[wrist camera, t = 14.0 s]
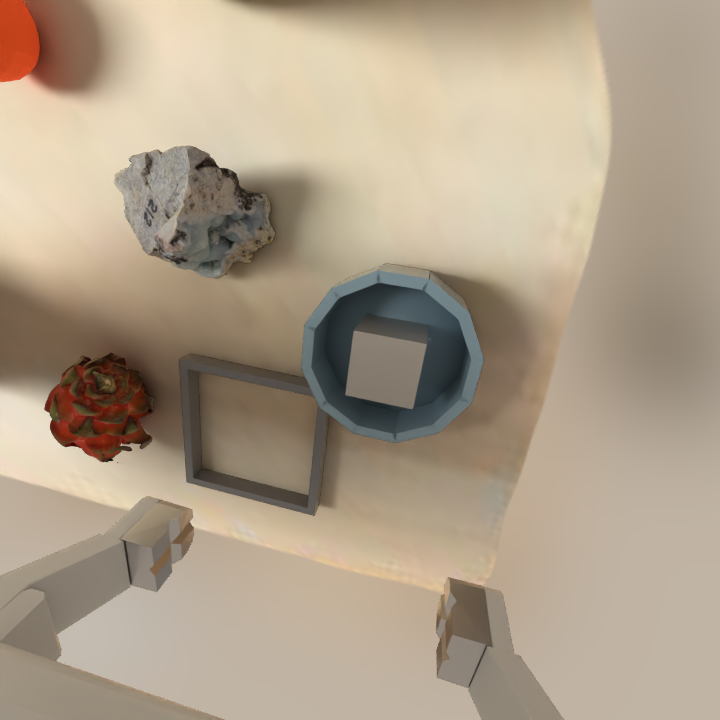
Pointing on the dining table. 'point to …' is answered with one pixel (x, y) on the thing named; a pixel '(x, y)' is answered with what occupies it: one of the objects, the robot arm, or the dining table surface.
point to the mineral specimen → (193, 210)
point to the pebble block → (386, 360)
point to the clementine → (17, 41)
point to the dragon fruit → (99, 407)
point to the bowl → (441, 360)
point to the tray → (229, 483)
